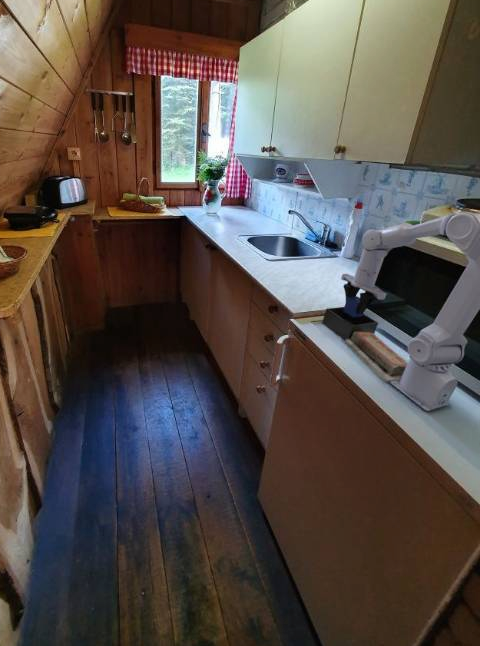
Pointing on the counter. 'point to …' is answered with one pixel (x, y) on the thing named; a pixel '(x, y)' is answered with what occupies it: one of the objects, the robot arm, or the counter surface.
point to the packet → (352, 306)
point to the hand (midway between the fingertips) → (353, 309)
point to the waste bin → (348, 323)
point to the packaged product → (377, 356)
